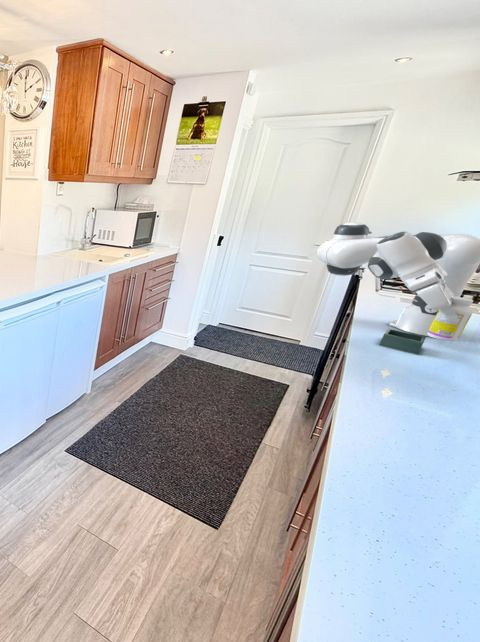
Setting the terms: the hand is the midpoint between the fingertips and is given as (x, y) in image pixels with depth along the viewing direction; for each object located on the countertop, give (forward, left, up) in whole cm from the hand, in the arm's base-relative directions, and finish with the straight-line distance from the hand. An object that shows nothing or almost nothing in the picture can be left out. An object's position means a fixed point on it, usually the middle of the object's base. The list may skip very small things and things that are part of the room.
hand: (456, 316), depth 122 cm
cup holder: (-23, -9, -19) cm, 31 cm away
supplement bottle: (0, -1, -8) cm, 8 cm away
